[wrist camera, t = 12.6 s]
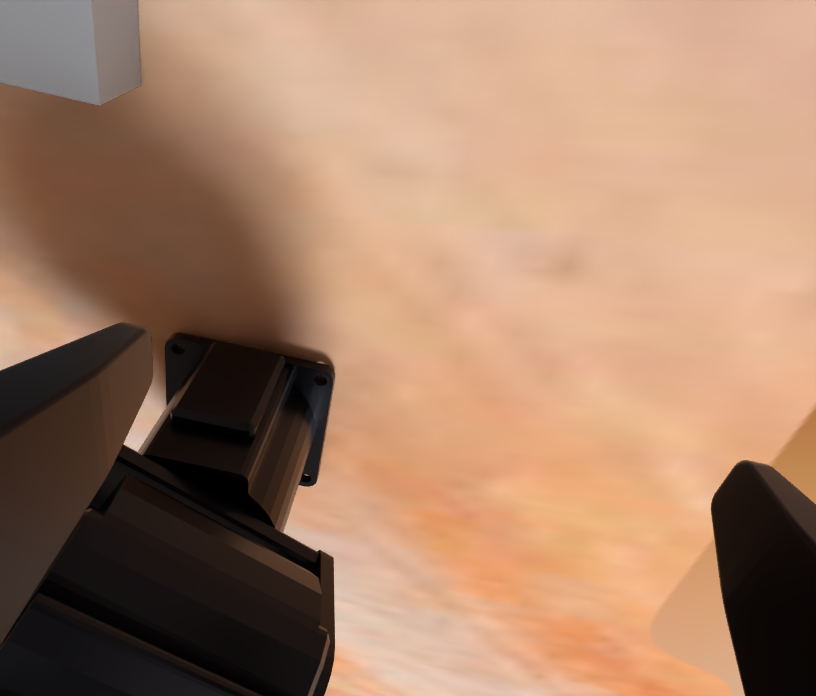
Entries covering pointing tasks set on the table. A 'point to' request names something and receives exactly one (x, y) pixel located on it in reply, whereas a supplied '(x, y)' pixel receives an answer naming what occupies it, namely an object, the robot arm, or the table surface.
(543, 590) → the table surface
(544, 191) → the table surface
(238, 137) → the table surface
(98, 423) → the robot arm
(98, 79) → the gray and yellow box
